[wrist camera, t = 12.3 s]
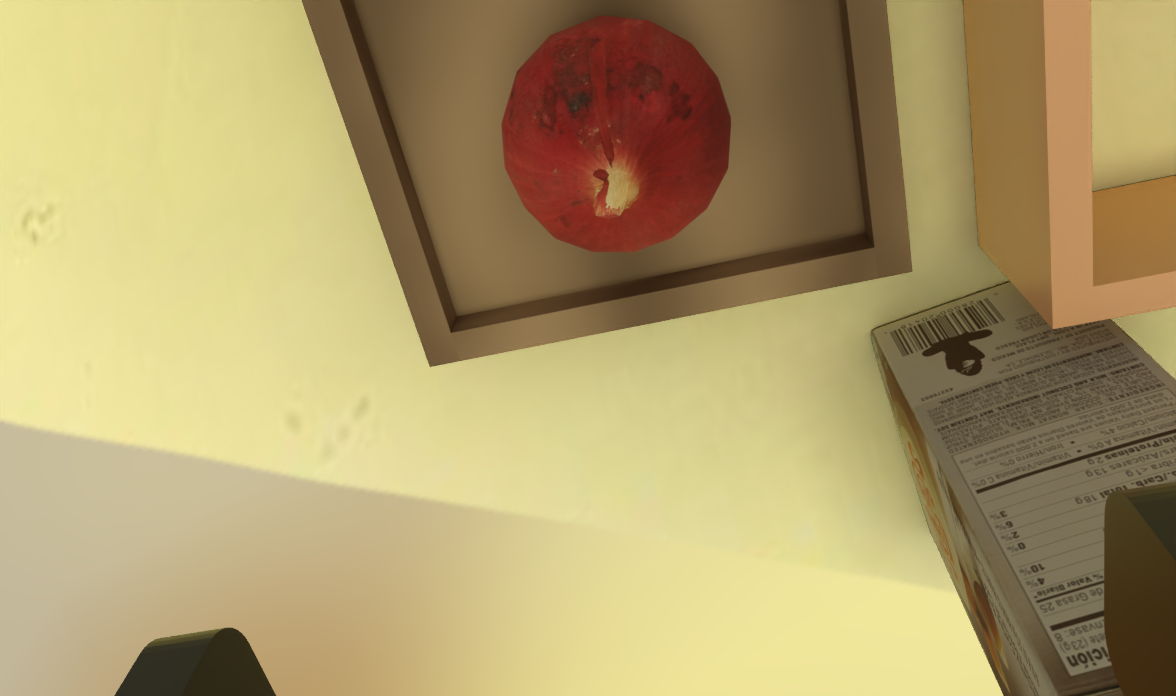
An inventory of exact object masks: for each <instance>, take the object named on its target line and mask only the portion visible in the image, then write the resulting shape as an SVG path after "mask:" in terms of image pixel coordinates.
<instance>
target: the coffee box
mask: <svg viewBox="0 0 1176 696" xmlns="http://www.w3.org/2000/svg"><path fill="white" fill-rule="evenodd" d="M871 339H872V344H873V348H874V352H875V355H876V359H877V362H878V366H879V369H880V372H881V376H882V379H883V382H884V386H885V389H886V392H887V396H888V399H889V402H890V405H891V409H892V412H893V415H894V418H895V422H896V425H897V428H898V431H899V435H900V438H901V441H902V444H903V447H904V451H905V454H906V457H907V460H908V463H909V466H910V469H911V473H912V476H913V479H914V482H915V485H916V488H917V492H918V495H919V498H920V501H921V504H922V507H923V511H924V514H925V517H926V520H927V523H928V527H929V530H930V533H931V535H932V537H933V539H934V541H935V543H936V545H937V547H938V550H939V552H940V554H941V557H942V559H943V561H944V563H945V566H946V568H947V570H948V572H949V574H950V577H951V579H952V581H953V583H954V586H955V588H956V590H957V592H958V595H959V597H960V599H961V601H962V603H963V606H964V608H965V610H966V612H967V615H968V617H969V619H970V621H971V624H972V626H973V628H974V631H975V633H976V635H977V637H978V640H979V642H980V644H981V646H982V648H983V650H984V653H985V655H986V657H987V660H988V662H989V664H990V666H991V668H992V671H993V673H994V675H995V677H996V680H997V682H998V684H999V686H1000V688H1001V691H1002V693H1003V695H1004V696H1124V695H1123V693H1122V691H1121V689H1120V686H1119V684H1118V681H1117V679H1116V676H1115V673H1114V670H1113V667H1112V664H1111V661H1110V657H1109V653H1108V649H1107V644H1106V638H1105V630H1104V514H1105V504H1106V500H1107V498H1108V496H1109V494H1110V493H1112V492H1114V491H1119V490H1126V489H1132V488H1138V487H1145V486H1151V485H1158V484H1164V483H1170V482H1176V380H1175V379H1174V378H1173V377H1172V376H1171V375H1170V374H1168V373H1167V372H1166V371H1165V370H1164V369H1163V368H1162V367H1161V366H1160V365H1159V364H1158V363H1157V362H1156V361H1155V360H1154V359H1153V358H1152V357H1151V356H1150V355H1149V354H1148V353H1146V352H1145V351H1144V350H1143V349H1142V348H1141V347H1140V346H1139V345H1138V344H1137V343H1136V342H1135V341H1134V340H1133V339H1132V338H1131V337H1130V336H1128V335H1127V334H1126V333H1125V332H1124V331H1123V330H1122V329H1121V328H1120V327H1119V326H1118V325H1117V324H1116V323H1115V322H1113V321H1112V320H1111V319H1106V320H1100V321H1095V322H1090V323H1084V324H1079V325H1073V326H1068V327H1063V328H1057V329H1052V328H1051V327H1050V325H1049V324H1048V323H1047V322H1046V321H1045V320H1044V319H1043V318H1042V316H1041V315H1040V314H1039V313H1038V312H1037V311H1036V310H1035V308H1034V307H1033V306H1032V305H1031V304H1030V303H1029V302H1028V301H1027V299H1026V298H1025V297H1024V296H1023V295H1022V294H1021V293H1020V291H1019V290H1018V289H1017V288H1016V287H1015V286H1014V285H1013V284H1012V282H1008V283H1005V284H1002V285H999V286H996V287H993V288H991V289H988V290H985V291H982V292H979V293H976V294H973V295H971V296H968V297H965V298H962V299H959V300H956V301H953V302H950V303H947V304H944V305H942V306H939V307H936V308H933V309H931V310H928V311H925V312H922V313H919V314H916V315H914V316H911V317H908V318H905V319H902V320H899V321H896V322H893V323H891V324H888V325H885V326H882V327H879V328H876V329H875V330H873V331H872V332H871Z"/></svg>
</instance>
